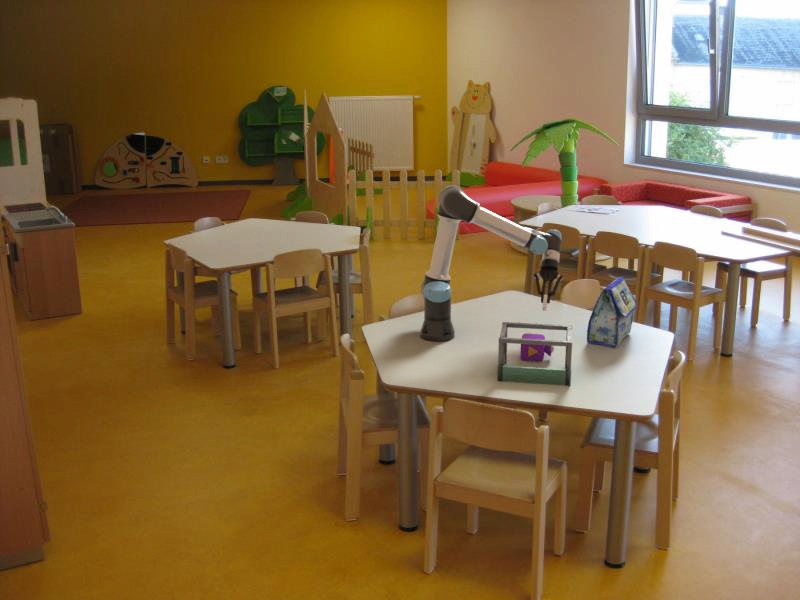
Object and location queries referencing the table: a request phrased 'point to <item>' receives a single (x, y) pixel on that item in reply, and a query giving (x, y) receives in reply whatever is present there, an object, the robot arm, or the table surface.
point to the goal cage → (530, 372)
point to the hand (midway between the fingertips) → (544, 309)
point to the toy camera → (534, 349)
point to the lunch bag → (612, 315)
